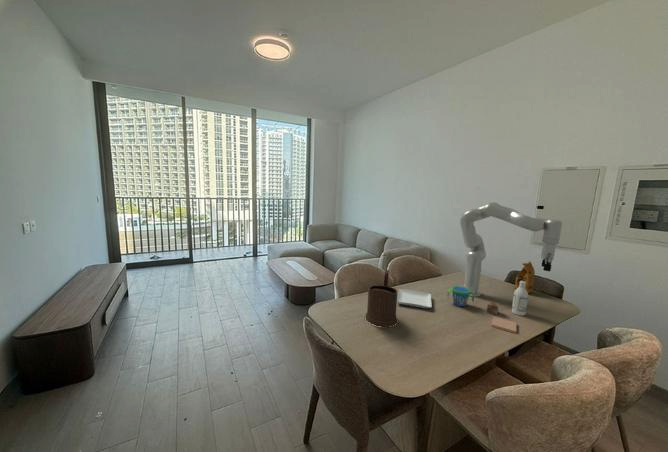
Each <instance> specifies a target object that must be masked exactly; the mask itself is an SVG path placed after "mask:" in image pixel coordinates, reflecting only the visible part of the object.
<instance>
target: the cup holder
mask: <svg viewBox="0 0 668 452" xmlns="http://www.w3.org/2000/svg"><path fill="white" fill-rule="evenodd" d="M389 273H390V271H389V269H385V271H384V280H383V285H379V284H378V285H370V286H369V287H368V289H367V290H368V291H367V309H366V310H367V311H366V313H365V315H366V316H365V315H364V318H365V317H366V320H367V321H368V322H370V323H371V324H374V325H376V326H381V327H390V326H393V325H395V324H396V323H397V320H398V318H397V306H398V305H397V304H398V302H397V297H398V290H397V289H396V288H394V287H391V286H389ZM366 320H365V321H366ZM397 324H398V323H397ZM395 326H396V325H395ZM393 327H394V326H393ZM390 328H391V327H390Z"/></svg>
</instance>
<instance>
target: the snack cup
mask: <svg viewBox="0 0 668 452" xmlns="http://www.w3.org/2000/svg"><path fill="white" fill-rule="evenodd" d="M451 291H452V303H453V305H455V306H457V307H463V308H464V307H465V306H466V305H467V303H468V299H469V297H470V296H469V295H470V293H472V292H471V291H470V290H469V289H467V288H464V287H458V286H457V285H456V286H452V287H451V288H450V289H448V290H447V293H446V295H447V297H446V298H448V299H449V295H450V292H451ZM472 295H473V296H472V297H471V298H472V299H471V301H472V302H474V300H475V297H474V294H473V293H472Z"/></svg>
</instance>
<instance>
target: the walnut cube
mask: <svg viewBox="0 0 668 452" xmlns="http://www.w3.org/2000/svg"><path fill="white" fill-rule="evenodd" d="M499 304H500V303H498V302H494V301H490V300H489V301H488V302H487V306H486V313H487V314H491V315H494V316H498V313H499V312H498V311H499V306H500V305H499Z"/></svg>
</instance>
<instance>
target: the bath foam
mask: <svg viewBox="0 0 668 452" xmlns="http://www.w3.org/2000/svg"><path fill="white" fill-rule="evenodd" d="M525 286H526V282H524V281H520V284H519V287H518V288H517V289H516V290H515V289H514V292H513V299H512V306H511V312H512V314H515V315H517V316H525V315H526V314H527V313H526V312H527V306H528V300H529V293H528V292H527V290H526V289H525Z"/></svg>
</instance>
